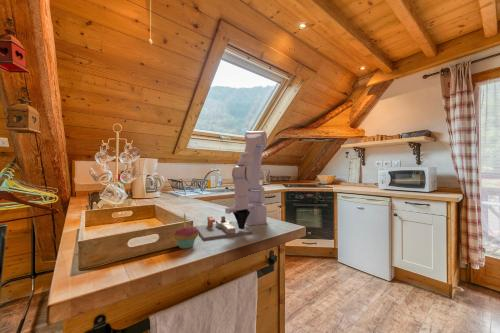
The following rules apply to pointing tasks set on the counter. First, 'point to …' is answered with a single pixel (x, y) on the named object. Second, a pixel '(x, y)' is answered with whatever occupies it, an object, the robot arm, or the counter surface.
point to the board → (220, 231)
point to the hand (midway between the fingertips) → (241, 228)
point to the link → (226, 226)
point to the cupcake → (186, 235)
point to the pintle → (223, 219)
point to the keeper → (210, 221)
